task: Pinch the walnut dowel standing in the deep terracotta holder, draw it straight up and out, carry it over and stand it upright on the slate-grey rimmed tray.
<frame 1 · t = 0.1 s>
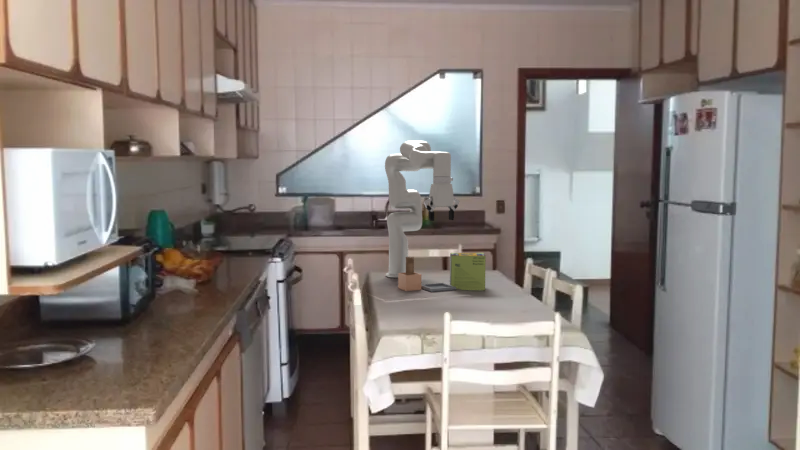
hand: (441, 220, 315), 31 cm above the table, fingers open, 9 cm apart
protein box: (467, 288, 326), on the table
dowel: (409, 288, 319), point 1 cm above the table, touching holder
tray: (437, 290, 319), on the table
holder: (409, 290, 319), on the table
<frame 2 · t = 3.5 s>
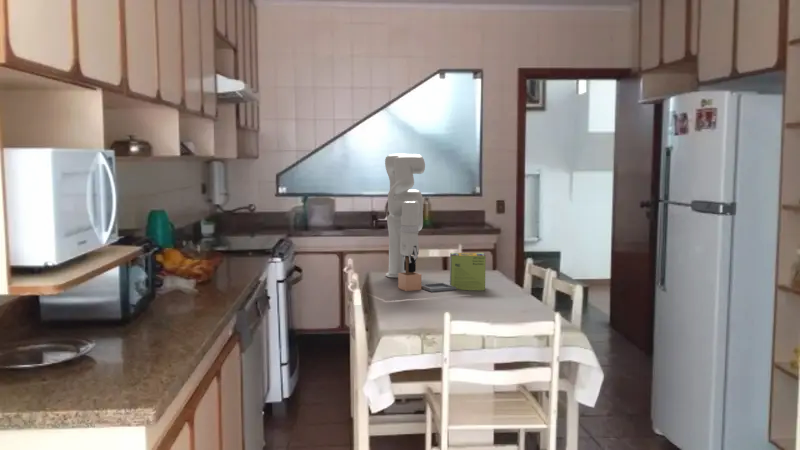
hand: (409, 270, 319), 9 cm above the table, fingers closed on dowel, 3 cm apart
dowel: (409, 288, 319), point 1 cm above the table, touching gripper, holder
everything else where it was.
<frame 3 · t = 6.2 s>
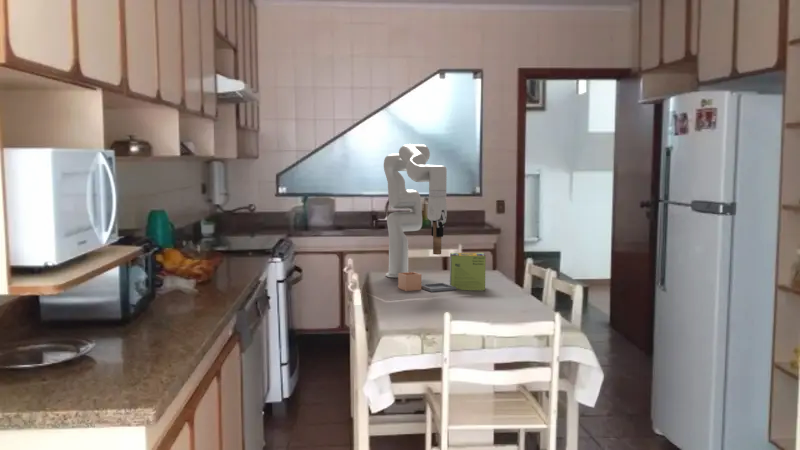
hand: (437, 235, 317), 24 cm above the table, fingers closed on dowel, 3 cm apart
dowel: (437, 253, 318), point 16 cm above the table, touching gripper
everything else where it was.
when the fingers open (10 cm above the table, at t = 9.1 s): dowel stays where it is, resting on tray.
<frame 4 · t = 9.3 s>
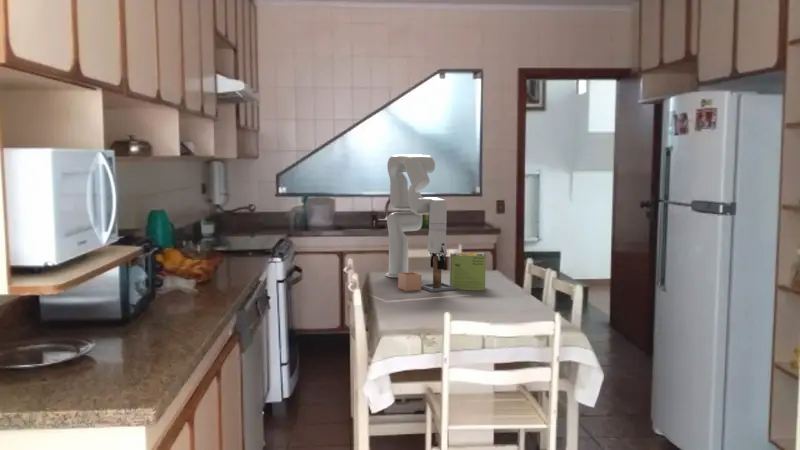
hand: (437, 267, 319), 10 cm above the table, fingers open, 5 cm apart
dowel: (437, 287, 319), point 1 cm above the table, touching tray
everything else where it was.
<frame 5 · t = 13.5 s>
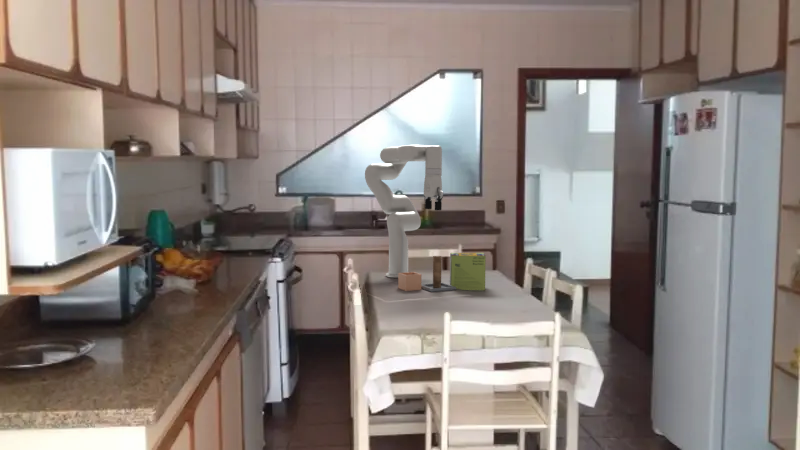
hand: (433, 209, 336), 34 cm above the table, fingers open, 9 cm apart
nothing on the table moved.
at the end: dowel inside the target area on the tray (0.1 cm from its centre), point 1.2 cm above the tray's base; dowel tilted 0°; the gripper is holding nothing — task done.
